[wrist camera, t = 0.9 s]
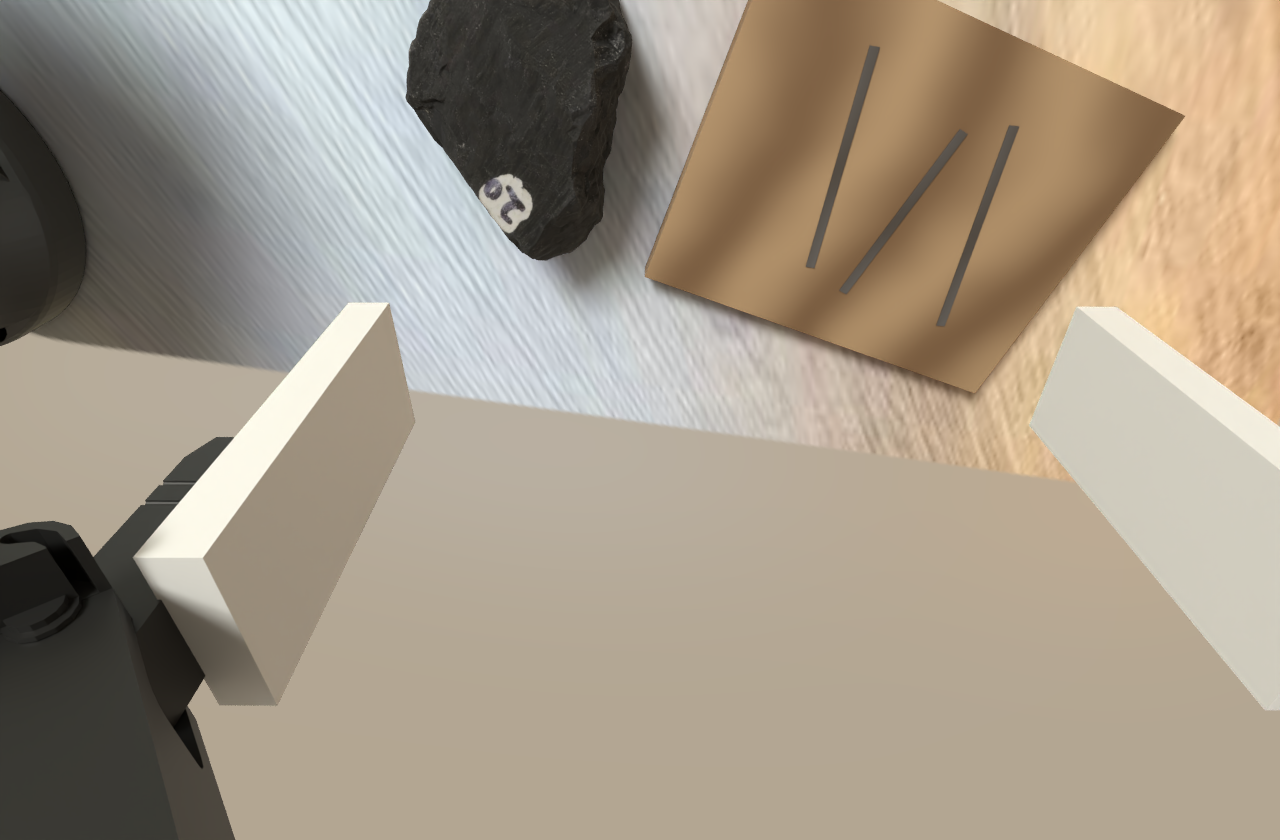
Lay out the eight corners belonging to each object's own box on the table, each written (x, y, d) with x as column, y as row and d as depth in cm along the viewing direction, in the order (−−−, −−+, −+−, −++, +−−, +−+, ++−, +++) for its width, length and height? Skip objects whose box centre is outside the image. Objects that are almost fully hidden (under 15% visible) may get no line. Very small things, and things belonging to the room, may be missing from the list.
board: (645, 267, 33) (644, 277, 31) (775, -71, 25) (780, -73, 24) (965, 381, 36) (975, 393, 35) (1166, 110, 28) (1186, 116, 27)
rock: (555, 253, 32) (538, 303, 27) (393, 60, 28) (338, 78, 23) (712, 134, 29) (724, 165, 24) (558, -105, 25) (536, -124, 20)
